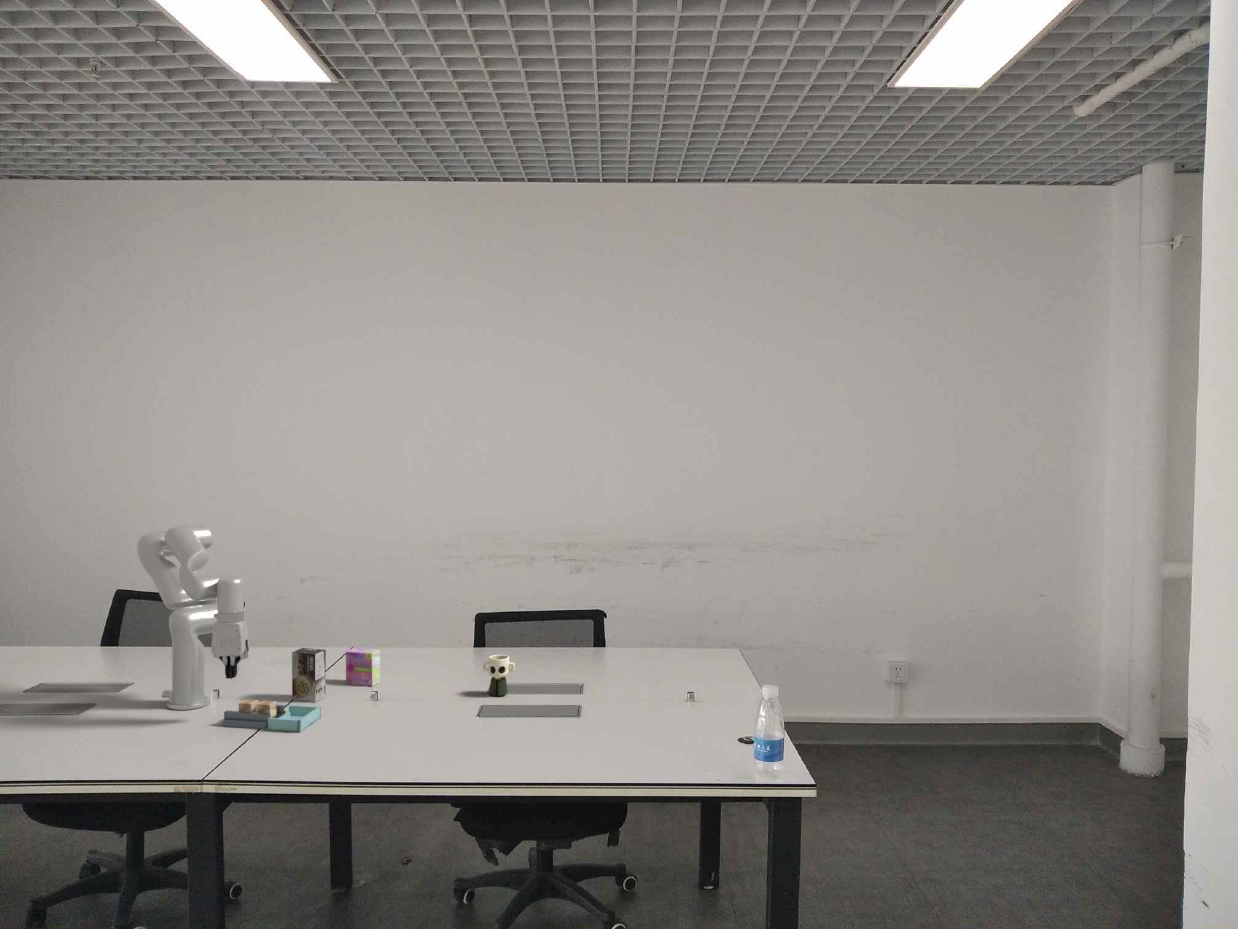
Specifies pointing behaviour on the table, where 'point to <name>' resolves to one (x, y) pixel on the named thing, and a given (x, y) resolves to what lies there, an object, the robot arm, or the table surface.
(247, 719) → the slot rail
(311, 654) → the coffee box
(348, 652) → the box
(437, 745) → the table surface
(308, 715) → the tray
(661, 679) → the table surface
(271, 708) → the chip
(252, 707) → the chip
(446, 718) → the table surface
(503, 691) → the character mug
